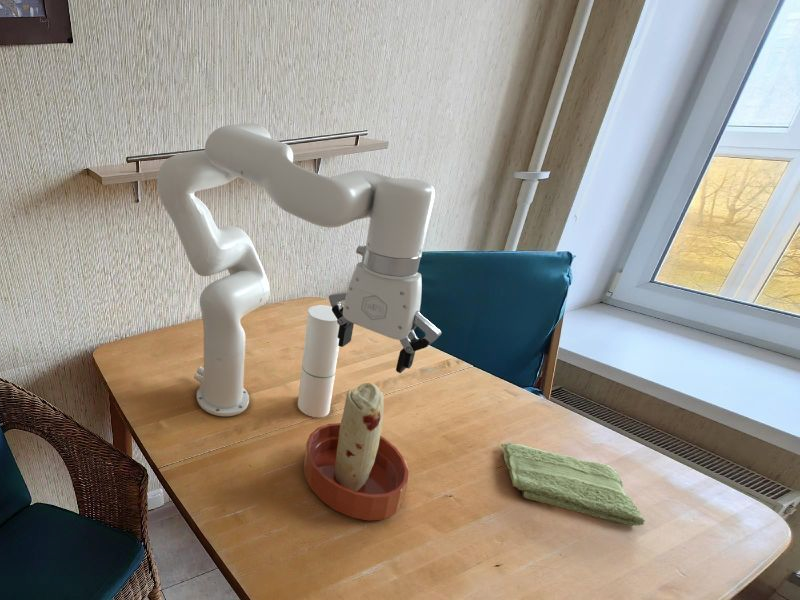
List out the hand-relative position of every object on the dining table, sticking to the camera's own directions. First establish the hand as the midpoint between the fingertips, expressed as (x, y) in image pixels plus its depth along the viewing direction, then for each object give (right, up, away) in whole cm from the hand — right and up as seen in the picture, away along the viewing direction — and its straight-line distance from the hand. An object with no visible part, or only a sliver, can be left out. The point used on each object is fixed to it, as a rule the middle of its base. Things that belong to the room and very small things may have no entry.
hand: (371, 355), depth 71 cm
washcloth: (+39, -26, +7) cm, 48 cm away
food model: (+1, -26, +10) cm, 27 cm away
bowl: (+1, -26, +10) cm, 28 cm away
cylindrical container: (+1, -19, +29) cm, 35 cm away
